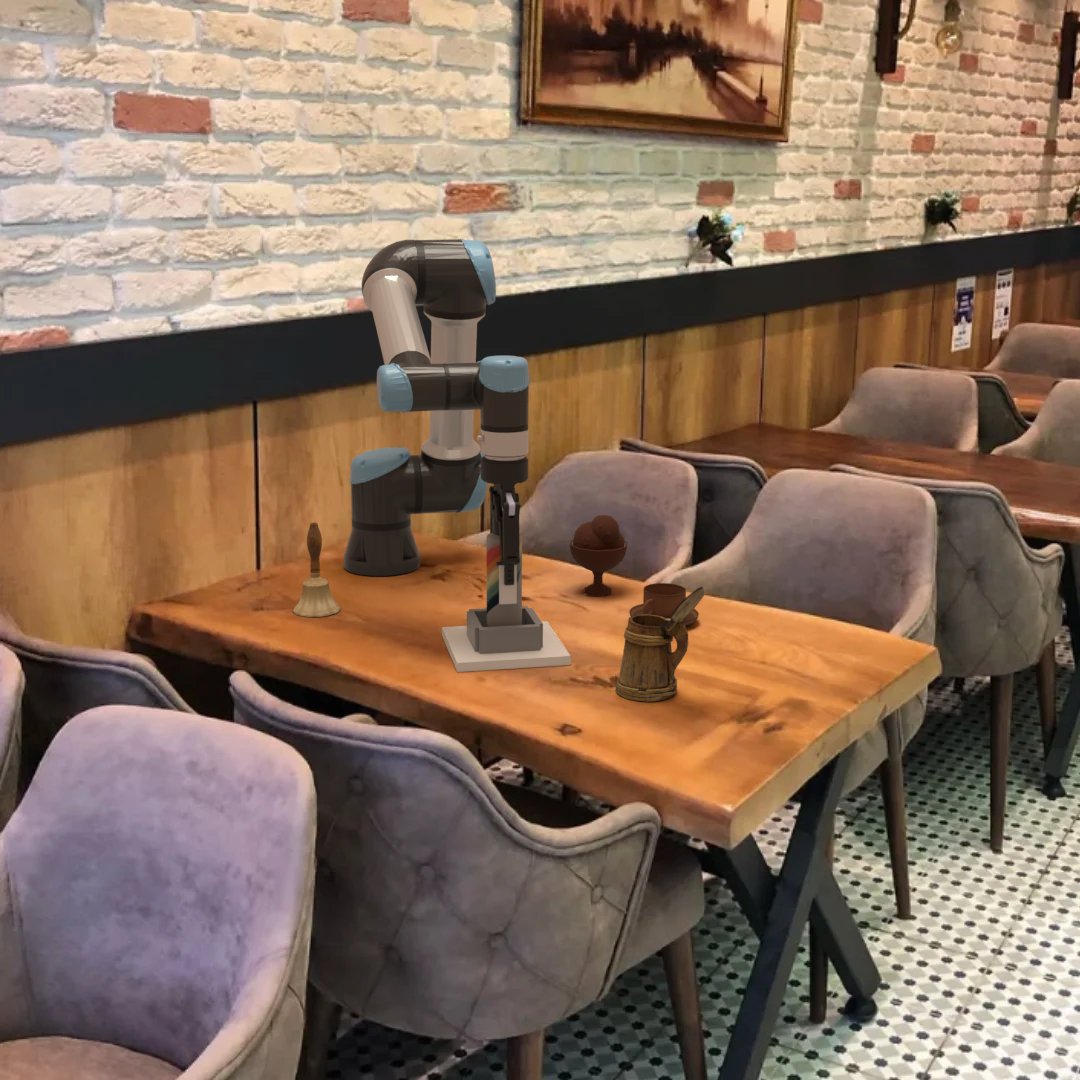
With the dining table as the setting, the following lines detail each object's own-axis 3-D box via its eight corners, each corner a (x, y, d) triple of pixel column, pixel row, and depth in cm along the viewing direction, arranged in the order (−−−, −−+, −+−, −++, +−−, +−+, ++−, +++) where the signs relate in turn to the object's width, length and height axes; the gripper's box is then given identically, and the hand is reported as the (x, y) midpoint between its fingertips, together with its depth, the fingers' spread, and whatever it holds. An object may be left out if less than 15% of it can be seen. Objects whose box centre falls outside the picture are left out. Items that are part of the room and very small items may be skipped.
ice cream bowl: (627, 584, 251) (629, 508, 248) (625, 601, 241) (627, 522, 237) (571, 582, 252) (572, 506, 249) (567, 599, 242) (568, 520, 238)
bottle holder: (441, 635, 221) (441, 604, 220) (546, 629, 225) (547, 598, 223) (457, 672, 204) (457, 638, 203) (570, 664, 208) (570, 631, 206)
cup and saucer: (688, 637, 222) (690, 602, 220) (620, 629, 226) (621, 594, 224) (705, 617, 233) (706, 583, 231) (640, 609, 237) (641, 576, 235)
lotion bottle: (487, 620, 216) (487, 501, 211) (522, 620, 216) (523, 501, 211) (485, 631, 211) (485, 509, 206) (520, 631, 211) (521, 509, 206)
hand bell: (286, 607, 236) (283, 521, 232) (330, 601, 240) (327, 516, 236) (302, 620, 229) (299, 531, 225) (347, 613, 233) (344, 525, 229)
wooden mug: (681, 714, 188) (686, 593, 184) (604, 693, 196) (606, 576, 192) (713, 696, 195) (718, 580, 190) (637, 676, 203) (640, 564, 198)
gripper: (471, 446, 215) (472, 582, 220) (490, 468, 197) (491, 616, 203) (516, 444, 216) (516, 580, 222) (539, 466, 198) (538, 613, 204)
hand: (504, 597), depth 212 cm, fingers closed on lotion bottle, 6 cm apart
